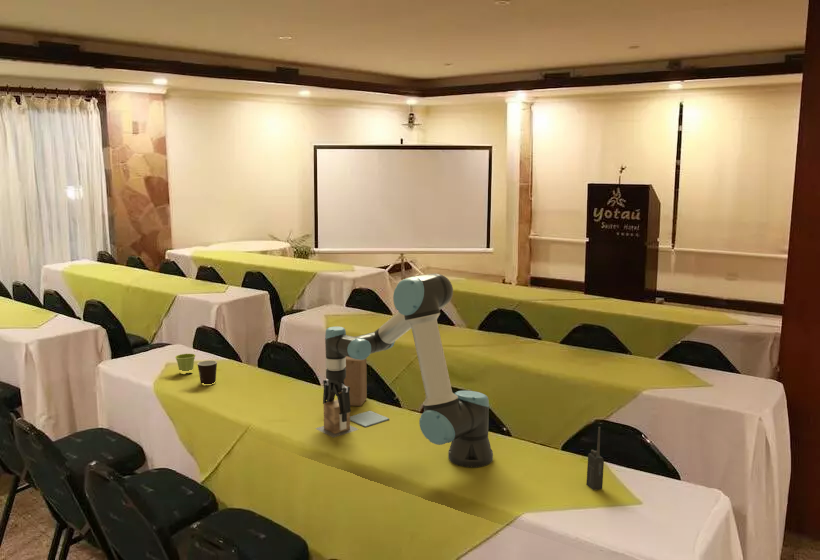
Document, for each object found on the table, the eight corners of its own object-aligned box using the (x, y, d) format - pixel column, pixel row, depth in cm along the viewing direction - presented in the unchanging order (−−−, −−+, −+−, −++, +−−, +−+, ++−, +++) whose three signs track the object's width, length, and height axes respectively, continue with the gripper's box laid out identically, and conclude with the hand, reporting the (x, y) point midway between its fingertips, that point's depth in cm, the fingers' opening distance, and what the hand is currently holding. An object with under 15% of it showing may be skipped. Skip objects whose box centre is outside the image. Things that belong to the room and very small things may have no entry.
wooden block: (361, 407, 277) (360, 360, 274) (338, 405, 279) (337, 359, 276) (367, 399, 287) (366, 354, 283) (345, 397, 289) (344, 352, 285)
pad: (389, 419, 262) (389, 418, 262) (365, 427, 254) (365, 426, 254) (370, 411, 271) (370, 410, 271) (346, 419, 263) (346, 417, 263)
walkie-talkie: (603, 489, 205) (606, 427, 202) (593, 490, 204) (596, 428, 201) (595, 482, 209) (597, 421, 206) (585, 484, 208) (588, 423, 205)
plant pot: (172, 375, 320) (171, 358, 319) (182, 370, 329) (181, 353, 328) (190, 376, 318) (189, 359, 317) (199, 371, 328) (199, 353, 326)
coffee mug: (214, 386, 303) (213, 365, 301) (195, 386, 303) (194, 365, 302) (222, 379, 314) (221, 358, 313) (203, 379, 315) (203, 358, 313)
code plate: (359, 429, 252) (359, 429, 252) (333, 437, 244) (333, 437, 244) (340, 421, 261) (340, 420, 261) (314, 428, 253) (314, 428, 253)
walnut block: (349, 429, 253) (349, 403, 251) (334, 433, 248) (334, 408, 246) (338, 424, 258) (338, 399, 256) (324, 428, 253) (323, 403, 251)
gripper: (360, 371, 244) (361, 431, 248) (328, 360, 259) (329, 417, 262) (343, 375, 239) (344, 436, 243) (312, 364, 254) (313, 421, 257)
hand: (336, 426), depth 253 cm, fingers closed on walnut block, 7 cm apart
